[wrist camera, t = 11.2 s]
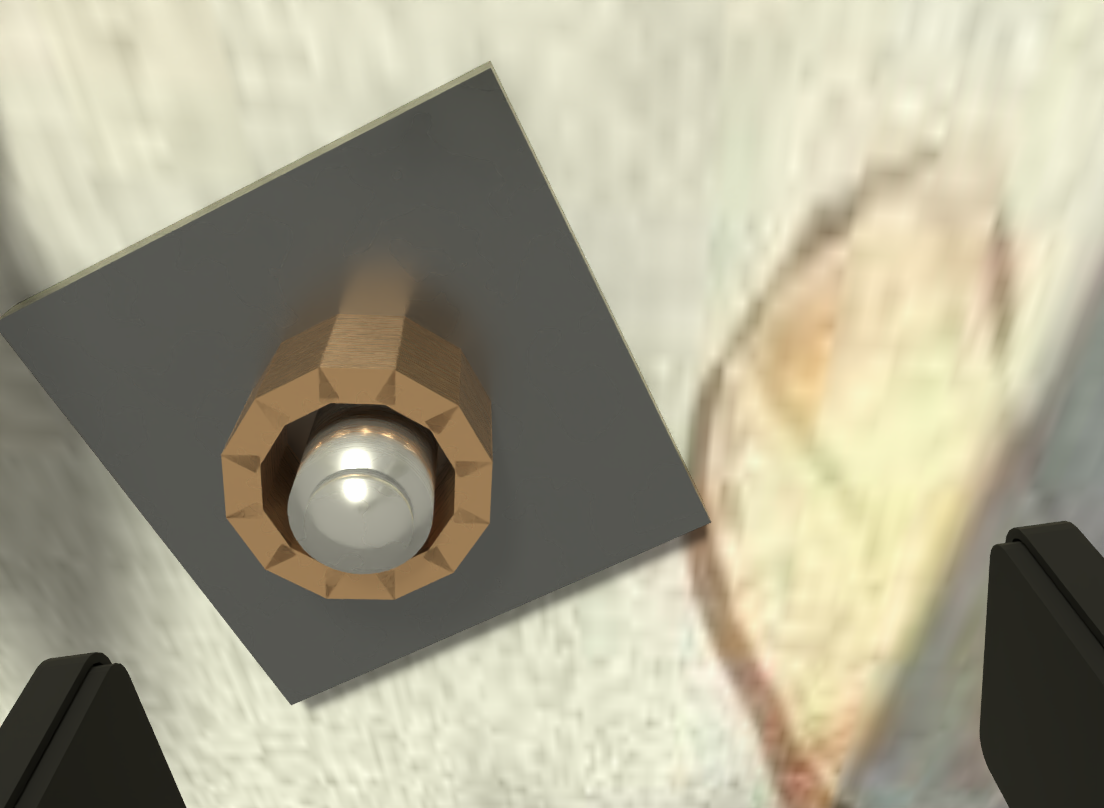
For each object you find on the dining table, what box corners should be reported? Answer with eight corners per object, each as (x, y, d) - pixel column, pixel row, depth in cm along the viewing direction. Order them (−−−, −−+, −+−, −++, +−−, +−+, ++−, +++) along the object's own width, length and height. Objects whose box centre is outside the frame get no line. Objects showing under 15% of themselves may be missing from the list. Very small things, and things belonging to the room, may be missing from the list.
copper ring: (417, 273, 30) (409, 322, 26) (529, 467, 33) (536, 535, 29) (205, 380, 31) (168, 442, 27) (332, 559, 34) (315, 636, 30)
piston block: (490, 60, 29) (493, 100, 22) (702, 499, 35) (752, 627, 29) (14, 305, 31) (-108, 406, 24) (298, 676, 37) (260, 833, 31)
